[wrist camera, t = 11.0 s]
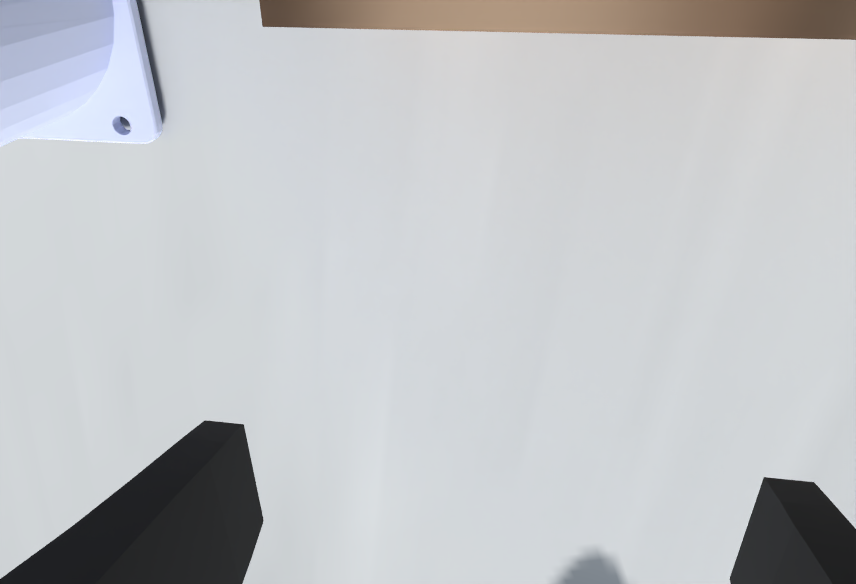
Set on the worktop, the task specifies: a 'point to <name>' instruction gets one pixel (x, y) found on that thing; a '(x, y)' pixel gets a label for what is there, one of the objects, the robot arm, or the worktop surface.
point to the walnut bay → (578, 16)
